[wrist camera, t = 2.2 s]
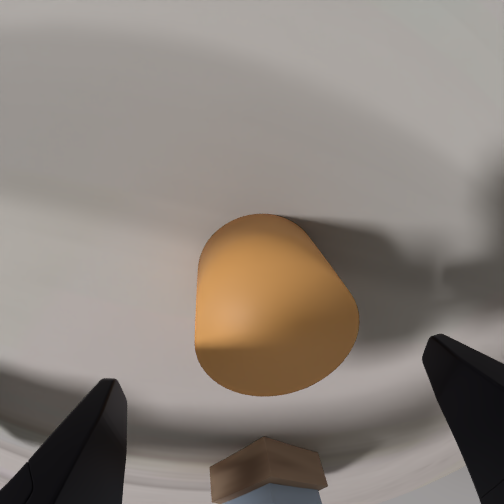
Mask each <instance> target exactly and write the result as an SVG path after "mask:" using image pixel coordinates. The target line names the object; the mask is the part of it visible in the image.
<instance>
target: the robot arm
mask: <svg viewBox="0 0 504 504" xmlns="http://www.w3.org/2000/svg"><path fill="white" fill-rule="evenodd" d="M422 361H423V365H424V367H425V370H426V372H427V375H428V377H429V380H430V383H431V385H432V388H433V391H434V393H435V396H436V399H437V401H438V403H439V406H440V408H441V410H442V412H443V414H444V416H445V418H446V420H447V422H448V425H449V427H450V429H451V431H452V433H453V436H454V438H455V440H456V442H457V445H458V447H459V449H460V451H461V454H462V456H463V458H464V461H465V463H466V466H467V468H468V471H469V473H470V475H471V478H472V481H473V483H474V486H475V488H476V491H477V494H478V496H479V498H480V502H481V504H504V364H503V363H501V362H499V361H497V360H495V359H493V358H491V357H489V356H487V355H485V354H483V353H480V352H478V351H476V350H474V349H472V348H470V347H468V346H466V345H464V344H462V343H460V342H458V341H456V340H454V339H452V338H450V337H448V336H446V335H444V334H437V335H434V336H431V337H430V338H429V340H428V342H427V345H426V348H425V350H424V353H423V356H422ZM126 452H127V400H126V397H125V395H124V393H123V391H122V388H121V386H120V384H119V382H118V381H117V380H116V379H111V378H104V379H102V380H100V381H99V382H98V383H97V385H96V386H95V387H94V388H93V389H92V390H91V391H90V392H89V393H88V394H87V395H86V397H85V398H84V399H83V400H82V401H81V402H80V403H79V404H78V405H77V406H76V408H75V409H74V410H73V411H72V412H71V413H70V414H69V415H68V416H67V417H66V419H65V420H64V421H63V422H62V423H61V424H60V425H59V426H58V427H57V429H56V430H55V431H54V432H53V433H52V434H51V435H50V436H49V438H48V439H47V440H46V441H45V442H44V443H43V444H42V445H41V447H40V448H39V449H38V450H37V451H36V452H35V453H34V455H33V456H32V457H31V458H30V459H29V461H28V462H29V463H28V462H26V464H25V465H24V466H23V467H22V468H21V469H20V470H19V471H18V473H17V474H16V475H15V476H14V477H13V478H12V479H11V480H10V481H9V482H8V483H7V484H6V485H5V486H4V487H3V488H2V489H1V490H0V504H122V495H123V483H124V473H125V463H126Z"/></svg>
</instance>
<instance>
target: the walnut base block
mask: <svg viewBox="0 0 504 504" xmlns="http://www.w3.org/2000/svg"><path fill="white" fill-rule="evenodd" d="M210 481H211V496H212V502H213V503H218V504H222V503H225V502H228V501H230V500H232V499H235V498H237V497H240V496H242V495H244V494H247V493H249V492H251V491H253V490H256V489H258V488H260V487H262V486H264V485H266V484H268V483H273V484H279V485H285V486H292V487H299V488H307V489H316V490H318V491H319V490H321V489H323V488H325V487H327V486H328V484H327V481H326V478H325V474H324V471H323V468H322V465H321V461H320V458H319V455H318V453H317V452H313V451H310V450H306V449H303V448H299V447H296V446H293V445H289V444H286V443H283V442H280V441H277V440H273V439H270V438H267V437H265V436H263V437H262V438H260V439H258V440H257V441H255V442H254V443H252V444H250V445H248V446H247V447H245V448H243V449H242V450H240V451H238V452H236V453H235V454H233V455H231V456H229V457H227V458H226V459H224V460H222V461H220V462H218V463H216V464H214V465H213V466H211V467H210Z"/></svg>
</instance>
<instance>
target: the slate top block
mask: <svg viewBox="0 0 504 504" xmlns="http://www.w3.org/2000/svg"><path fill="white" fill-rule="evenodd" d="M222 504H322V502H321V499H320V495H319V492H318V490H316V489H307V488H299V487H292V486H285V485H279V484H273V483H268V484H266V485H264V486H262V487H260V488H258V489H256V490H253V491H251V492H249V493H247V494H244V495H242V496H240V497H237V498H235V499H232V500H230V501H228V502H225V503H222Z"/></svg>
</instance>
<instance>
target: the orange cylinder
mask: <svg viewBox="0 0 504 504" xmlns="http://www.w3.org/2000/svg"><path fill="white" fill-rule="evenodd" d="M358 330H359V312H358V307H357V305H356V302H355V300H354V298H353V296H352V295H351V293H350V292H349V290H348V289H347V288H346V286H345V285H344V283H343V282H342V281H341V279H340V278H339V277H338V275H337V274H336V272H335V271H334V270H333V268H332V267H331V266H330V264H329V263H328V262H327V260H326V259H325V257H324V256H323V255H322V253H321V252H320V251H319V249H318V248H317V247H316V245H315V244H314V243H313V241H312V240H311V239H310V237H309V236H308V235H307V234H306V232H305V231H304V230H303V229H302V228H301V227H299V226H298V225H297V224H295V223H294V222H292V221H290V220H288V219H286V218H283V217H280V216H276V215H271V214H253V215H247V216H243V217H240V218H237V219H235V220H233V221H231V222H229V223H227V224H225V225H224V226H223V227H221V228H220V229H219V230H217V231H216V232H215V233H214V234H213V235H212V236H211V238H210V239H209V240H208V242H207V243H206V245H205V247H204V248H203V251H202V253H201V256H200V259H199V264H198V278H197V297H196V319H195V351H196V355H197V358H198V361H199V363H200V365H201V367H202V368H203V369H204V371H205V372H206V373H207V374H208V375H209V376H210V377H211V378H212V379H213V380H214V381H215V382H217V383H218V384H220V385H221V386H223V387H225V388H227V389H229V390H232V391H234V392H237V393H241V394H245V395H251V396H277V395H284V394H289V393H292V392H296V391H299V390H302V389H304V388H307V387H309V386H311V385H313V384H315V383H317V382H319V381H320V380H322V379H323V378H325V377H326V376H328V375H329V374H330V373H332V372H333V371H334V370H335V369H336V368H337V367H338V366H339V365H340V364H341V363H342V362H343V361H344V359H345V358H346V357H347V355H348V354H349V352H350V351H351V349H352V347H353V345H354V343H355V341H356V338H357V334H358Z"/></svg>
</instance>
